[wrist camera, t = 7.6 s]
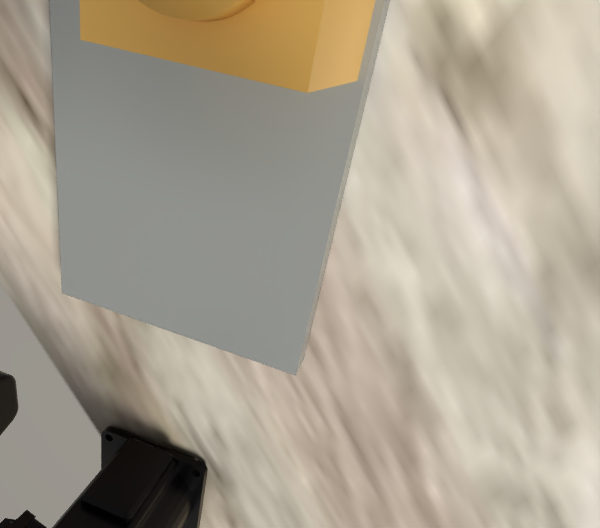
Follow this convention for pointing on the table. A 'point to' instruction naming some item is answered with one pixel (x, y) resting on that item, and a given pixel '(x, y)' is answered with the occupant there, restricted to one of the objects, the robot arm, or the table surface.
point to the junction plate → (199, 191)
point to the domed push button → (241, 36)
